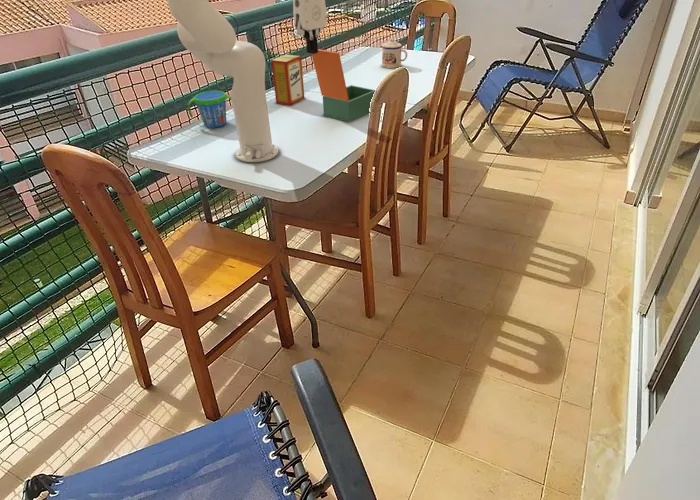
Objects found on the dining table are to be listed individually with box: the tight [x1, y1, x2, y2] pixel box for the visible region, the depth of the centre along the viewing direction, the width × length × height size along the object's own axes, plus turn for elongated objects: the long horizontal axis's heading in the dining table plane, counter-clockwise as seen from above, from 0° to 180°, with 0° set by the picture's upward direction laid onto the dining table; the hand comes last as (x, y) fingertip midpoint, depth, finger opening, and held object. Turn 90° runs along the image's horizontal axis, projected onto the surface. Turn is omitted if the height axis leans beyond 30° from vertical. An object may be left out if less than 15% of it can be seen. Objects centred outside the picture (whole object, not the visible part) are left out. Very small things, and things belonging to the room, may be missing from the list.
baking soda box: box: [270, 54, 305, 106], centre depth 184 cm, size 10×6×16 cm
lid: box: [311, 48, 349, 101], centre depth 161 cm, size 16×12×1 cm
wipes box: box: [322, 84, 376, 123], centre depth 174 cm, size 16×12×7 cm
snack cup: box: [187, 90, 232, 129], centre depth 167 cm, size 16×10×10 cm
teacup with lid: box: [381, 37, 408, 69], centre depth 222 cm, size 12×9×12 cm
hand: (312, 52), depth 152 cm, fingers closed
